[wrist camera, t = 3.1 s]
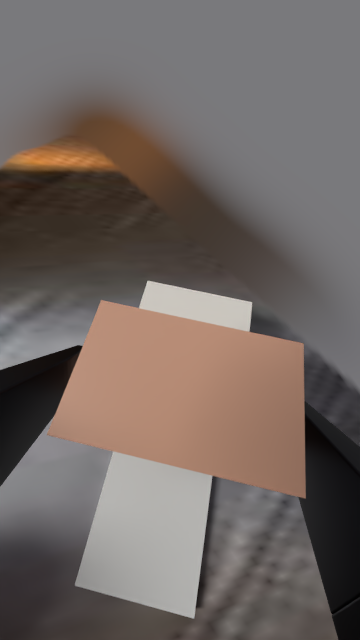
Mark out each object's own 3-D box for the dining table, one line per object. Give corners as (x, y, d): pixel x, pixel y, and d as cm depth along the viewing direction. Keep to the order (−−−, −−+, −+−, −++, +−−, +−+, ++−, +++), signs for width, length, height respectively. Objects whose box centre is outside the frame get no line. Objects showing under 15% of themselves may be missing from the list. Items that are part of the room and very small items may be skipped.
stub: (205, 425, 15) (305, 498, 4) (138, 409, 15) (46, 435, 4) (211, 383, 16) (303, 343, 5) (149, 369, 16) (101, 299, 5)
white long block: (193, 610, 12) (209, 768, 7) (78, 578, 12) (10, 707, 7) (229, 328, 18) (252, 300, 13) (154, 312, 19) (148, 278, 14)
